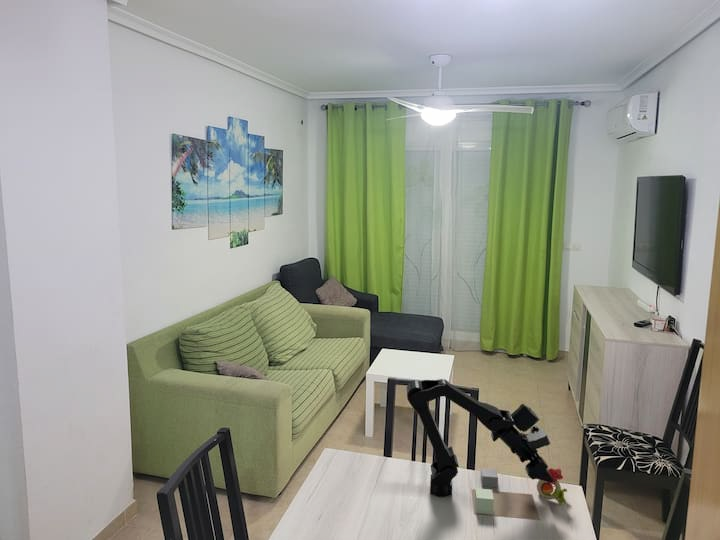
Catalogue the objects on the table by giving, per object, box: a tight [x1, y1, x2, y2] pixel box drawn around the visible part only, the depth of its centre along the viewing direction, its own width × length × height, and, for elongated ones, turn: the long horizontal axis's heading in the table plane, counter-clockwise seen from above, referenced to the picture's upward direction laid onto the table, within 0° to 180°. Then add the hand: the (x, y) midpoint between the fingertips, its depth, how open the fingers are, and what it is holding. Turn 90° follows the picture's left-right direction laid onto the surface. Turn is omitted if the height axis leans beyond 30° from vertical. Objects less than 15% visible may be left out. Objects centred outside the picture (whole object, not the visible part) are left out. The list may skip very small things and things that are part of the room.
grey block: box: [480, 467, 499, 488], centre depth 180 cm, size 5×5×5 cm
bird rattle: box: [536, 467, 568, 505], centre depth 172 cm, size 6×11×9 cm
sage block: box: [475, 487, 494, 515], centre depth 165 cm, size 5×5×5 cm
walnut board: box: [471, 488, 541, 521], centre depth 168 cm, size 19×13×2 cm
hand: (548, 473), depth 171 cm, fingers open, 9 cm apart
